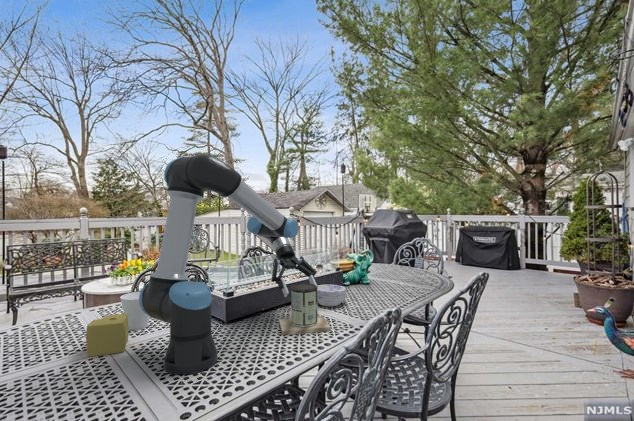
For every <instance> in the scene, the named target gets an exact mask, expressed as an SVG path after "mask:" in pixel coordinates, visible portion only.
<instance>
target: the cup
mask: <svg viewBox="0 0 634 421" xmlns="http://www.w3.org/2000/svg"><path fill="white" fill-rule="evenodd" d="M140 292H141V291H134V292H129V293H125V294H123V295H121V296H120V297H119V298H120V301H121V306H122V310H123V314H128V331H129V330H130V331H138V330H143V329H146V328H148V325H149V321H150V318H151V317H150V316H149V315H147V314H146V313H144V312H143V310H142V309H141V307H140V304H139V296H140Z"/></svg>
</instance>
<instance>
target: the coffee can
mask: <svg viewBox="0 0 634 421" xmlns="http://www.w3.org/2000/svg"><path fill="white" fill-rule="evenodd" d="M317 286H318V285H317ZM317 286H316V285H313V284H310V283H297V284H293V285H291V286H290V293H291V294H290V296H291V300H290V301H291V308H290V309H291V310H290V312H291V318H292V322H291V324H292V325H294V326H297V327H311V326H314V325H316V324H317V323H318V322H317V316H318V300H317V288H318V287H317Z"/></svg>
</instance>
